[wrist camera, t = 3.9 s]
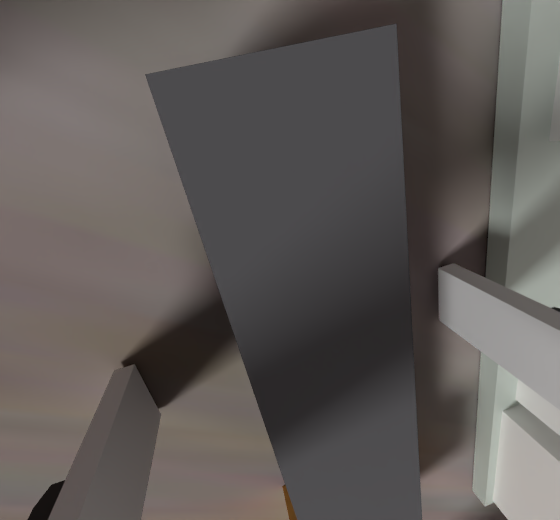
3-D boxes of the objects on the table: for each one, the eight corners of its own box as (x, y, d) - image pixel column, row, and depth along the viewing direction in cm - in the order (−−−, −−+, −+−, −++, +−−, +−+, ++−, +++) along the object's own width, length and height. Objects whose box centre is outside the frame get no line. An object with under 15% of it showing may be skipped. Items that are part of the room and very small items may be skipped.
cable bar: (154, 119, 9) (58, 67, 3) (327, 80, 9) (491, -17, 4) (300, 536, 18) (340, 711, 12) (384, 502, 18) (458, 653, 13)
